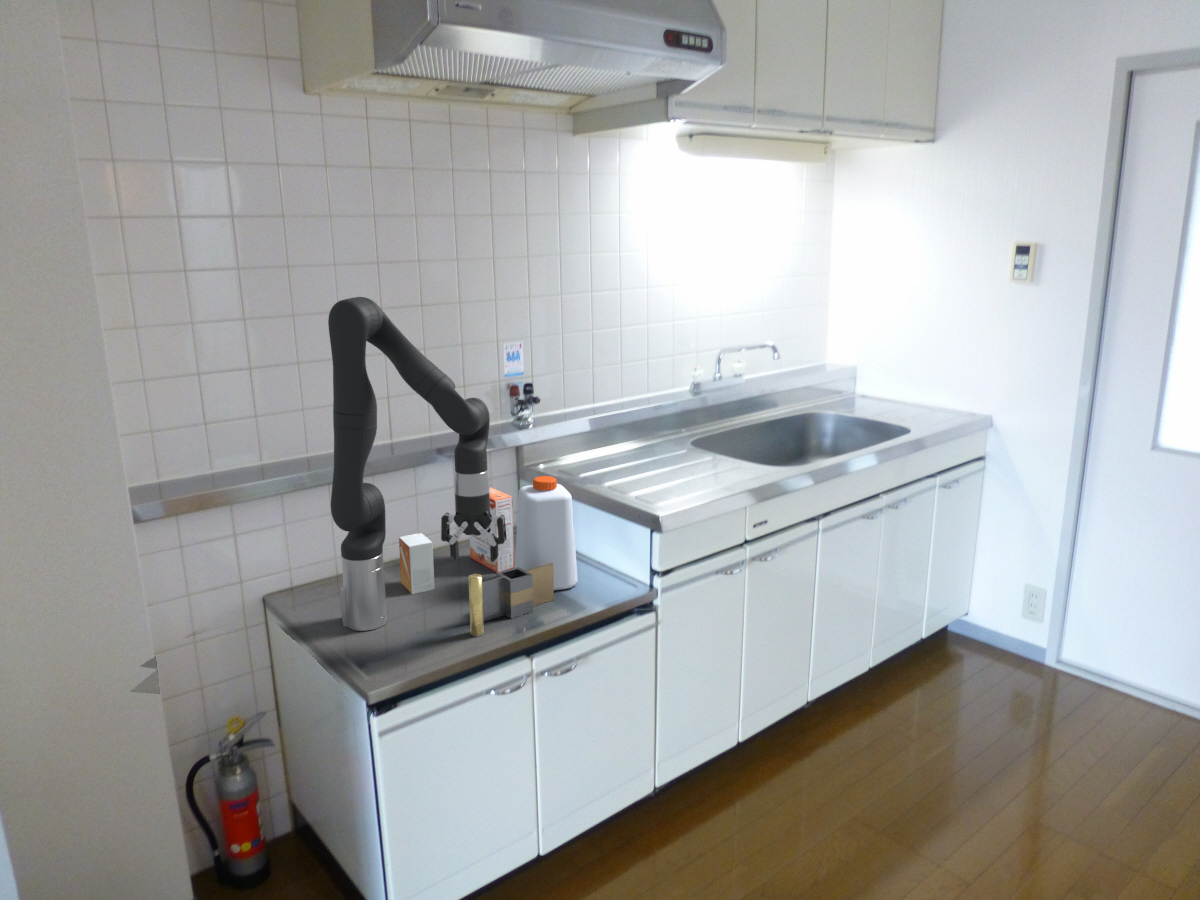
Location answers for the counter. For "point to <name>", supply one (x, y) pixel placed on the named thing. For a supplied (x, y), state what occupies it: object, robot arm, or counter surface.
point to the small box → (416, 563)
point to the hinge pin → (476, 604)
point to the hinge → (517, 591)
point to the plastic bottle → (546, 530)
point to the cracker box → (481, 546)
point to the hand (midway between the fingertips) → (474, 559)
